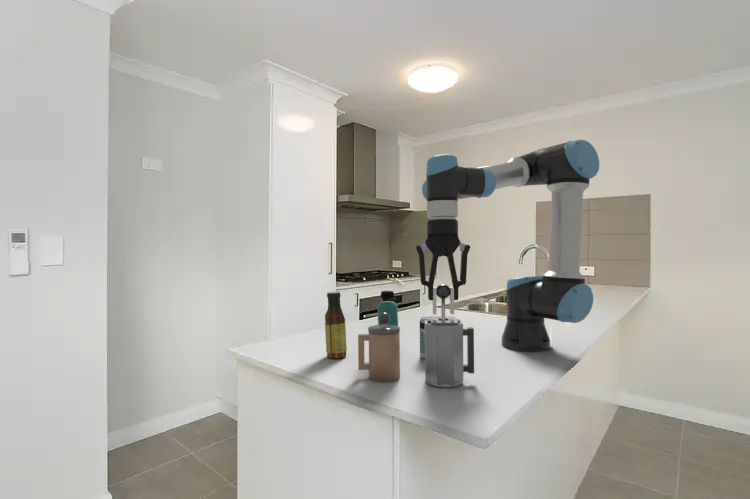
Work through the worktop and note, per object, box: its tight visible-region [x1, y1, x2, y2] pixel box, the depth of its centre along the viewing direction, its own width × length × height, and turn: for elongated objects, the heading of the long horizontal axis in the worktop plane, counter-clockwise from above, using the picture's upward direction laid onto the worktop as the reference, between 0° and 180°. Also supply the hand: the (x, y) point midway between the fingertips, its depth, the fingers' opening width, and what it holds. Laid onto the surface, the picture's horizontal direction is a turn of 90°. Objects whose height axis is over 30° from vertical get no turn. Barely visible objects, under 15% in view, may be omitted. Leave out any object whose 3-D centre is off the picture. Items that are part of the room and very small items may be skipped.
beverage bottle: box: [377, 290, 399, 327], centre depth 124 cm, size 6×7×20 cm
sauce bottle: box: [324, 291, 348, 360], centre depth 124 cm, size 6×6×20 cm
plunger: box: [436, 283, 450, 320], centre depth 100 cm, size 6×6×20 cm
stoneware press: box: [357, 312, 401, 383], centre depth 104 cm, size 11×8×17 cm
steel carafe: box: [424, 316, 475, 390], centre depth 100 cm, size 12×9×16 cm
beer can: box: [419, 316, 431, 360], centre depth 121 cm, size 5×5×12 cm
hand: (443, 313), depth 100 cm, fingers closed on plunger, 4 cm apart
